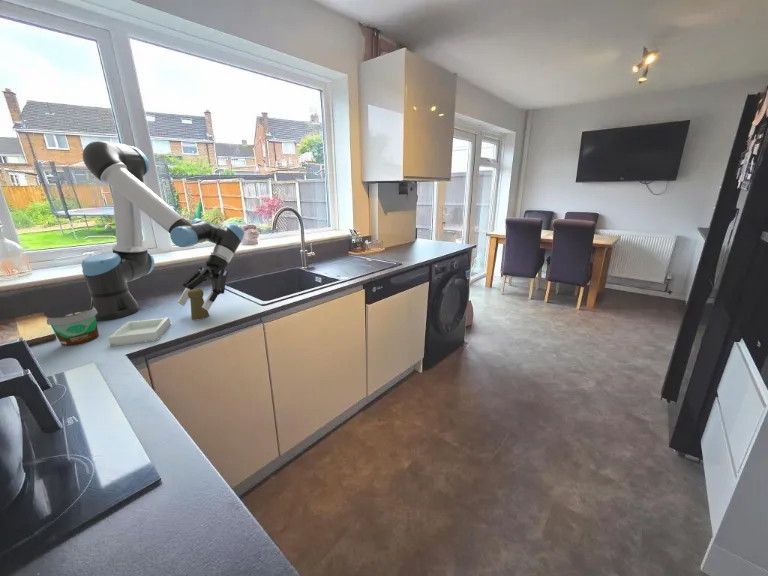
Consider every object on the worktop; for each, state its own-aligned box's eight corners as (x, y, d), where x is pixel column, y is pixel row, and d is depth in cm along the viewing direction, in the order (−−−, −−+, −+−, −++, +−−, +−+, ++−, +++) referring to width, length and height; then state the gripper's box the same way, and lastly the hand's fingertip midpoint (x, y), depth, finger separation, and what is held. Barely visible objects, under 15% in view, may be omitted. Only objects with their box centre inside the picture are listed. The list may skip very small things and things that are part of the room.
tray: (129, 329, 114) (127, 321, 113) (170, 324, 117) (168, 317, 117) (110, 346, 102) (108, 337, 101) (157, 340, 106) (155, 332, 105)
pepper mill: (201, 320, 121) (195, 292, 118) (187, 319, 122) (181, 291, 119) (212, 314, 127) (207, 287, 124) (199, 313, 128) (193, 286, 125)
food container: (61, 351, 99) (51, 321, 96) (55, 347, 102) (44, 317, 99) (110, 336, 109) (102, 308, 106) (103, 332, 112) (94, 305, 109)
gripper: (248, 266, 128) (223, 315, 119) (205, 261, 138) (178, 306, 129) (235, 256, 122) (208, 306, 113) (191, 252, 132) (162, 298, 123)
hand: (192, 306), depth 121 cm, fingers open, 13 cm apart
